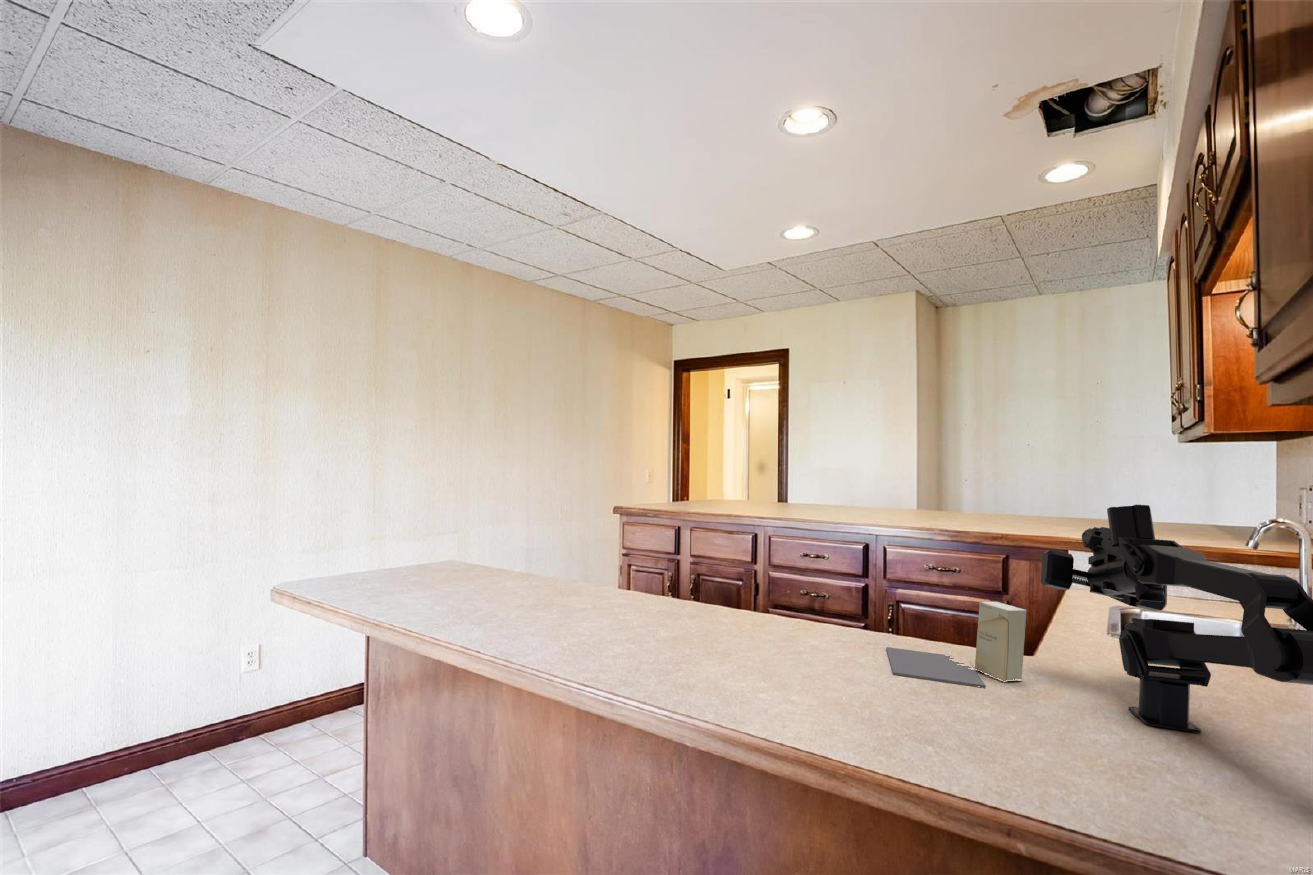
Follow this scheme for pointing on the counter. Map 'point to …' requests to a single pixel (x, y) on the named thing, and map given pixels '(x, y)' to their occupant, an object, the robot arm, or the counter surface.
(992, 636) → the skincare box
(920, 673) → the mat
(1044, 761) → the counter surface
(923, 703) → the counter surface
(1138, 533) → the robot arm
